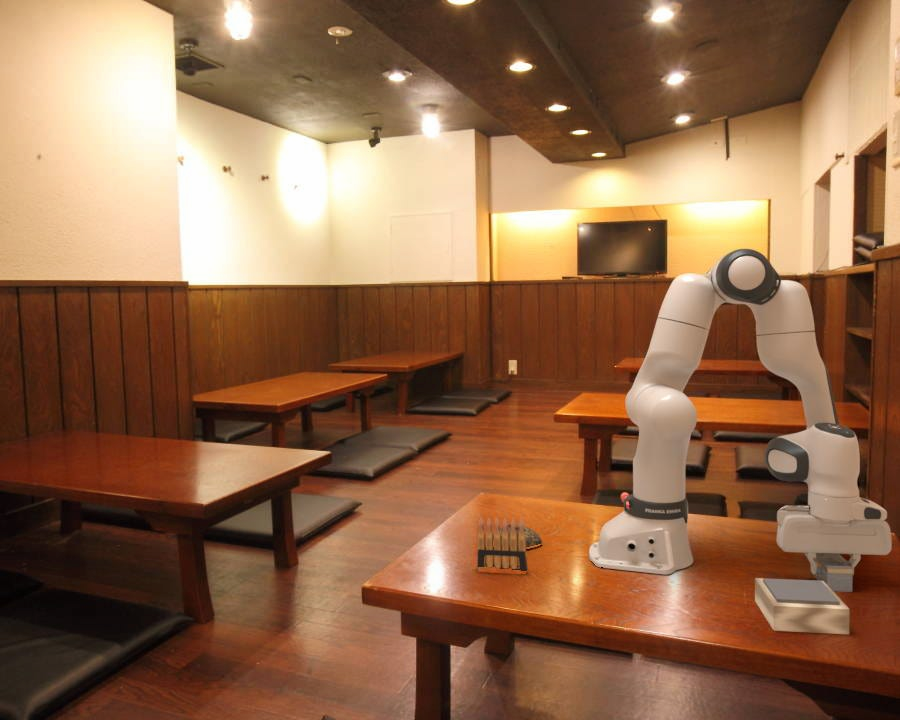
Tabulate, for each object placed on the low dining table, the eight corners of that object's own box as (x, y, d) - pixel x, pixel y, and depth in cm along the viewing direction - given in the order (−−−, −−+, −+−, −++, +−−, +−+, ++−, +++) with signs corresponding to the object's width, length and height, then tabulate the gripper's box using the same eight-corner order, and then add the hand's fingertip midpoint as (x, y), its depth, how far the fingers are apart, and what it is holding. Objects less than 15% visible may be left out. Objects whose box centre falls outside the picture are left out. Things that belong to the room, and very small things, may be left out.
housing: (827, 591, 132) (827, 565, 131) (812, 575, 140) (812, 550, 139) (852, 592, 131) (852, 566, 131) (836, 576, 139) (836, 551, 138)
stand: (773, 630, 117) (773, 602, 116) (754, 600, 128) (755, 575, 128) (849, 634, 115) (849, 605, 114) (823, 603, 126) (823, 577, 126)
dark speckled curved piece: (548, 548, 160) (548, 528, 159) (501, 557, 155) (501, 536, 155) (522, 532, 172) (521, 513, 171) (478, 540, 167) (477, 520, 167)
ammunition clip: (477, 572, 146) (475, 518, 145) (478, 569, 148) (477, 515, 147) (526, 575, 144) (525, 520, 143) (527, 571, 146) (526, 517, 145)
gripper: (781, 509, 133) (781, 577, 134) (896, 511, 129) (894, 582, 130) (772, 500, 139) (771, 565, 140) (881, 502, 135) (880, 569, 137)
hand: (831, 573), depth 135 cm, fingers closed on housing, 4 cm apart
